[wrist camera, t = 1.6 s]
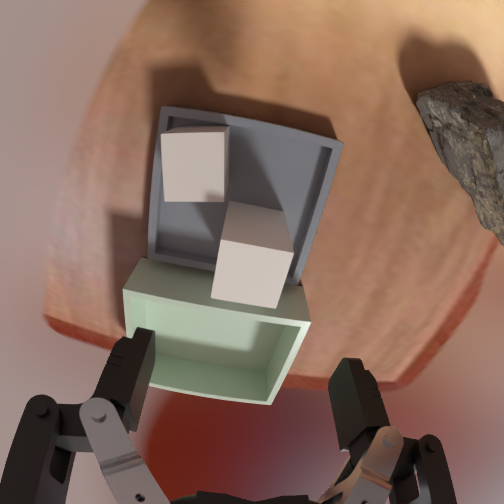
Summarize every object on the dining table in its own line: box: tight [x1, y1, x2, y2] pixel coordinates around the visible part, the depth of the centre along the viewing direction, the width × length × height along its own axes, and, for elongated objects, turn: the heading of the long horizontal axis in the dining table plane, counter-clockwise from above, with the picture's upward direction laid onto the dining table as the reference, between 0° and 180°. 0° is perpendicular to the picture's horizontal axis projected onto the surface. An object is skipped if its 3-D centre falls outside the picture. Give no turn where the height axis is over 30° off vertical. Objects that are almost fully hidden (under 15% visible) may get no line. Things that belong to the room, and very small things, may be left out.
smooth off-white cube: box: [161, 125, 230, 202], centre depth 18 cm, size 4×4×4 cm
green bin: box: [123, 257, 311, 405], centre depth 26 cm, size 12×14×4 cm
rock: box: [416, 81, 504, 246], centre depth 17 cm, size 17×7×10 cm
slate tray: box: [147, 105, 343, 286], centre depth 21 cm, size 12×12×2 cm
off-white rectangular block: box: [211, 201, 294, 309], centre depth 20 cm, size 4×4×6 cm
